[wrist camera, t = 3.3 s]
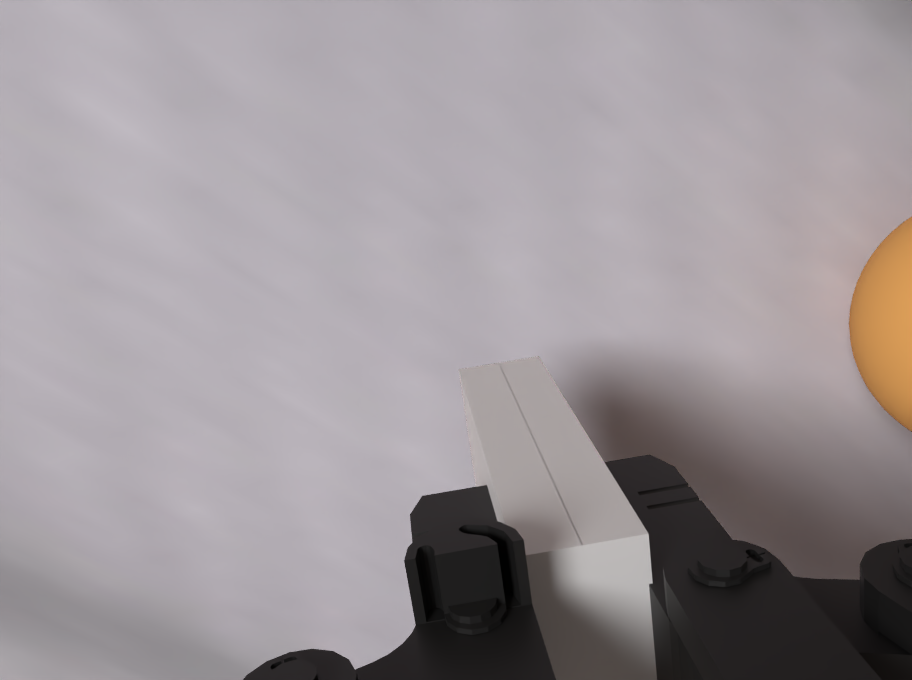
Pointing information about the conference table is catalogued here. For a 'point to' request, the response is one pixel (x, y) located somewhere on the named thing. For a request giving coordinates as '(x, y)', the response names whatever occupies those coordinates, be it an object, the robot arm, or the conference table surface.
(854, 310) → the ball
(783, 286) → the conference table surface
